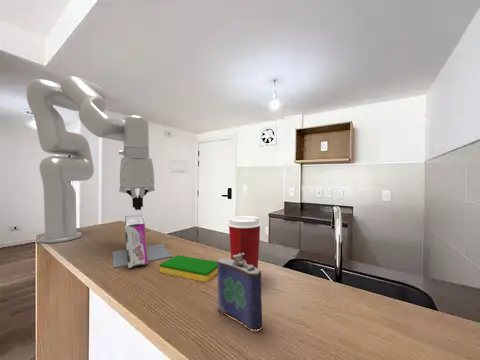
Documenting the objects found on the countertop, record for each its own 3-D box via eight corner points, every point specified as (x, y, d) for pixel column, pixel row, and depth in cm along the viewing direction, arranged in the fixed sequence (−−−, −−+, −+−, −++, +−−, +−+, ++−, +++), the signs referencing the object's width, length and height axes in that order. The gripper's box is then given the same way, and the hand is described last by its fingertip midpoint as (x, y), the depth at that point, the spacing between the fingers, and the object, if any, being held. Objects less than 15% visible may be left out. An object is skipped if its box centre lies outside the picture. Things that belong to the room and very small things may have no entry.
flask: (214, 310, 39) (214, 249, 39) (226, 303, 41) (226, 245, 41) (255, 335, 33) (255, 263, 33) (267, 325, 35) (267, 258, 35)
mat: (112, 252, 69) (112, 251, 69) (162, 244, 77) (162, 243, 77) (113, 268, 57) (113, 267, 57) (172, 257, 65) (172, 256, 65)
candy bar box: (145, 246, 73) (148, 264, 58) (128, 249, 71) (127, 269, 56) (142, 213, 72) (145, 222, 58) (125, 215, 70) (123, 226, 55)
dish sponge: (206, 284, 49) (206, 273, 49) (158, 273, 55) (158, 264, 55) (221, 271, 56) (221, 262, 56) (177, 263, 61) (177, 254, 61)
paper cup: (264, 273, 53) (263, 216, 53) (258, 289, 46) (257, 222, 45) (233, 270, 55) (232, 214, 55) (222, 285, 48) (222, 220, 48)
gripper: (110, 152, 66) (112, 213, 66) (162, 154, 74) (163, 208, 74) (110, 154, 73) (111, 210, 73) (157, 156, 80) (158, 206, 81)
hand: (137, 209), depth 74 cm, fingers closed
